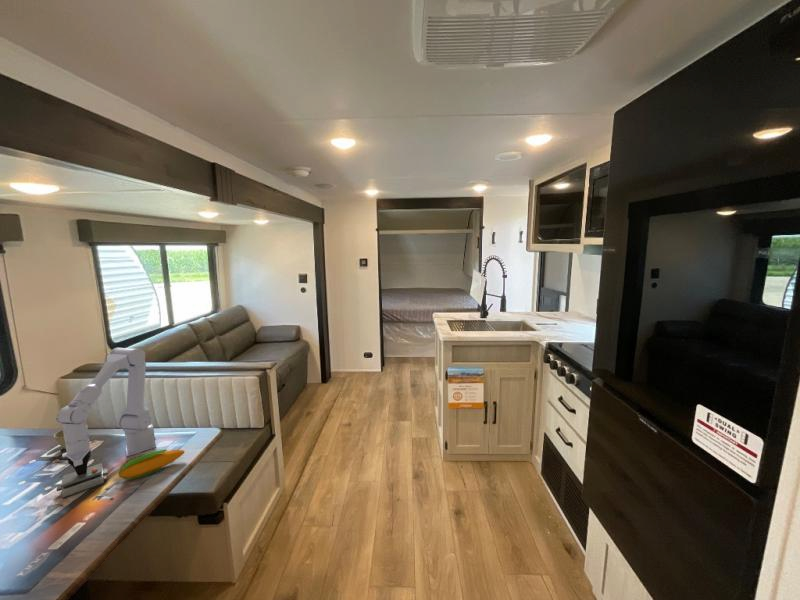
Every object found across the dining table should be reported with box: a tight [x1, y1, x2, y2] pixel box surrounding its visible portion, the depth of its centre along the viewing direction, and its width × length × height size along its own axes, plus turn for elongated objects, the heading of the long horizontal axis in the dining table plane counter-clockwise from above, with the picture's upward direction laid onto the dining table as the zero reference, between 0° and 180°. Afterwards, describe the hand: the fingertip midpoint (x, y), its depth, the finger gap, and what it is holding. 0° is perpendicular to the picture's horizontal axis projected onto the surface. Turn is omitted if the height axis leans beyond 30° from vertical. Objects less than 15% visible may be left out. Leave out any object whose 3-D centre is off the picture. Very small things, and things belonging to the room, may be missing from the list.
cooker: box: [56, 467, 109, 500], centre depth 113 cm, size 13×8×3 cm, turn 133°
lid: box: [60, 463, 103, 488], centre depth 113 cm, size 10×8×2 cm
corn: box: [118, 449, 185, 480], centre depth 121 cm, size 7×8×20 cm
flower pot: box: [53, 425, 89, 450], centre depth 134 cm, size 10×10×7 cm
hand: (82, 473), depth 112 cm, fingers closed, pressing on lid
